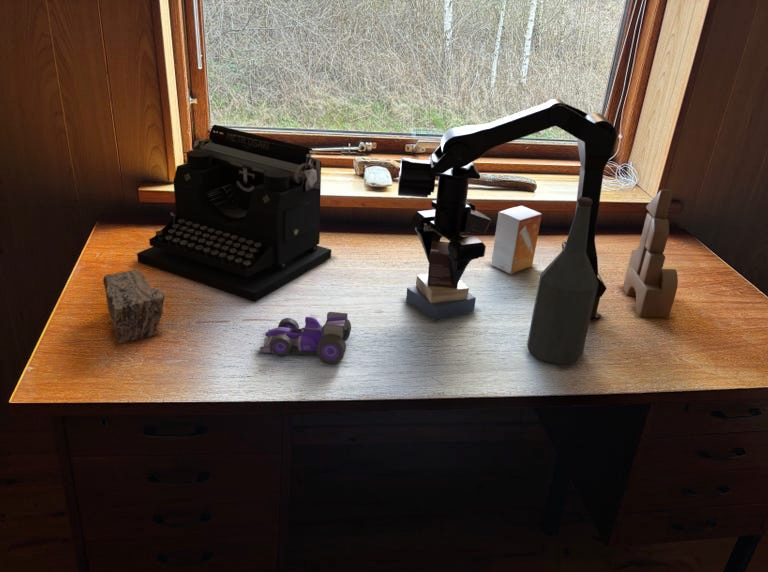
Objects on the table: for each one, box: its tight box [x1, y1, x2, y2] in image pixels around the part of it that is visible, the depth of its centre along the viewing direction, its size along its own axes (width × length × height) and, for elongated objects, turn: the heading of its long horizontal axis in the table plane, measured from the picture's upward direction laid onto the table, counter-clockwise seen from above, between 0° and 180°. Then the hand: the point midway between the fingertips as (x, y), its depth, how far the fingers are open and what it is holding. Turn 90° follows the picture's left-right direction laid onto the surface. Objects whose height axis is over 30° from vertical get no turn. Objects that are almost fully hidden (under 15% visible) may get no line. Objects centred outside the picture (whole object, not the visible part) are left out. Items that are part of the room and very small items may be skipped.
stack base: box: [405, 285, 477, 322], centre depth 151 cm, size 10×10×3 cm
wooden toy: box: [622, 189, 679, 319], centre depth 155 cm, size 16×7×25 cm, turn 2°
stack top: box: [415, 273, 470, 303], centre depth 149 cm, size 8×8×2 cm
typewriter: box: [136, 124, 332, 303], centre depth 156 cm, size 31×27×25 cm
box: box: [427, 240, 458, 288], centre depth 147 cm, size 6×6×7 cm
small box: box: [490, 205, 543, 275], centre depth 168 cm, size 8×6×13 cm
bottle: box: [526, 197, 599, 367], centre depth 131 cm, size 10×10×30 cm
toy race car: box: [259, 311, 352, 365], centre depth 131 cm, size 10×15×6 cm, turn 87°
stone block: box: [102, 269, 166, 344], centre depth 134 cm, size 14×9×8 cm, turn 29°
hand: (443, 273), depth 148 cm, fingers open, 9 cm apart
